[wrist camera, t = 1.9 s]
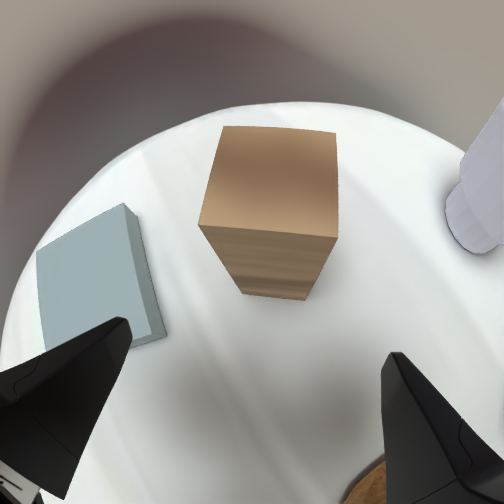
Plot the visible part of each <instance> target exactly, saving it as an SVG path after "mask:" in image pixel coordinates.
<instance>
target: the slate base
mask: <svg viewBox="0 0 504 504" xmlns="http://www.w3.org/2000/svg"><path fill="white" fill-rule="evenodd" d="M36 267H37V286H38V299H39V308H40V317H41V324H42V331H43V337H44V343H45V348H46V352H47V351H48V350H50V349H52V348H54V347H56V346H58V345H60V344H62V343H64V342H66V341H68V340H70V339H72V338H74V337H76V336H78V335H80V334H82V333H84V332H86V331H88V330H90V329H92V328H94V327H96V326H98V325H100V324H102V323H104V322H106V321H108V320H110V319H112V318H114V317H116V316H120V317H124V318H126V319H127V320H128V321H129V325H130V328H131V331H132V335H133V339H132V343H131V345H130V348H133V347H136V346H139V345H142V344H145V343H148V342H151V341H154V340H157V339H160V338H163V337H166V336H167V334H166V331H165V328H164V324H163V321H162V318H161V314H160V311H159V307H158V304H157V300H156V297H155V293H154V289H153V285H152V281H151V277H150V273H149V269H148V265H147V261H146V257H145V252H144V248H143V243H142V238H141V233H140V228H139V223H138V218H137V216H136V215H135V214H134V213H133V212H132V211H131V210H130V209H129V208H128V207H127V206H126V205H125V204H124V203H122V204H120V205H118V206H116V207H114V208H112V209H110V210H108V211H106V212H104V213H102V214H100V215H98V216H96V217H94V218H93V219H91V220H89V221H87V222H85V223H83V224H82V225H80V226H78V227H76V228H75V229H73V230H71V231H69V232H68V233H66V234H64V235H63V236H61V237H59V238H57V239H56V240H54V241H53V242H51V243H49V244H48V245H46V246H44V247H43V248H41V249H40V250H38V251H37V252H36ZM130 348H129V349H130Z"/></svg>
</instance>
